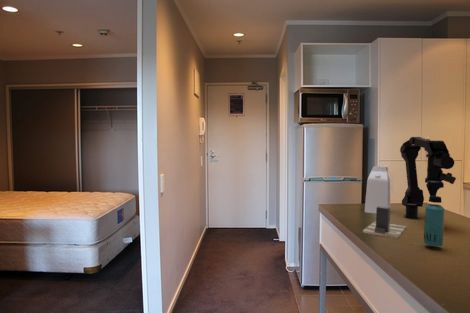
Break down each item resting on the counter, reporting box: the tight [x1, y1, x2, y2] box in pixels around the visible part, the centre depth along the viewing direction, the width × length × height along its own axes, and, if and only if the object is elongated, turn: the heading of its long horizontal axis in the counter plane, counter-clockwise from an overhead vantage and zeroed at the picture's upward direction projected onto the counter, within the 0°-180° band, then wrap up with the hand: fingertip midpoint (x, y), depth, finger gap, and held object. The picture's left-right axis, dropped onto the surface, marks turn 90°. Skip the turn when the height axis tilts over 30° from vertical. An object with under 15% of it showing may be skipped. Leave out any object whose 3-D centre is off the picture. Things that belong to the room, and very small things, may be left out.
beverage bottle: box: [423, 195, 445, 247], centre depth 123 cm, size 6×7×20 cm
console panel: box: [362, 221, 407, 240], centre depth 147 cm, size 20×14×3 cm
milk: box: [364, 165, 391, 214], centre depth 185 cm, size 12×12×26 cm
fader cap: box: [375, 206, 391, 232], centre depth 143 cm, size 4×5×10 cm
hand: (433, 200), depth 152 cm, fingers closed
